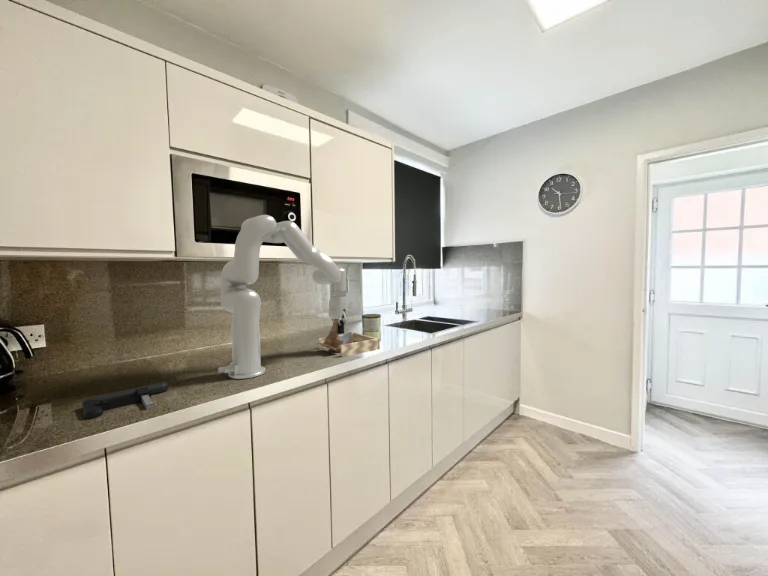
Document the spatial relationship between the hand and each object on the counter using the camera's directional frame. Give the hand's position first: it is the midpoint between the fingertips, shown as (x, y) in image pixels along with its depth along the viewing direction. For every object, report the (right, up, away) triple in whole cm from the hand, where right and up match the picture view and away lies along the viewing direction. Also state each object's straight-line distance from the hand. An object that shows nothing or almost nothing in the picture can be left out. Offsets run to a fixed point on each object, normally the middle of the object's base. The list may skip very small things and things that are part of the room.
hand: (338, 332), depth 152 cm
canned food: (+2, -9, +2) cm, 9 cm away
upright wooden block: (-4, -6, -4) cm, 9 cm away
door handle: (-51, -13, -60) cm, 80 cm away
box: (+4, -8, +4) cm, 10 cm away
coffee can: (+15, -8, +22) cm, 27 cm away
